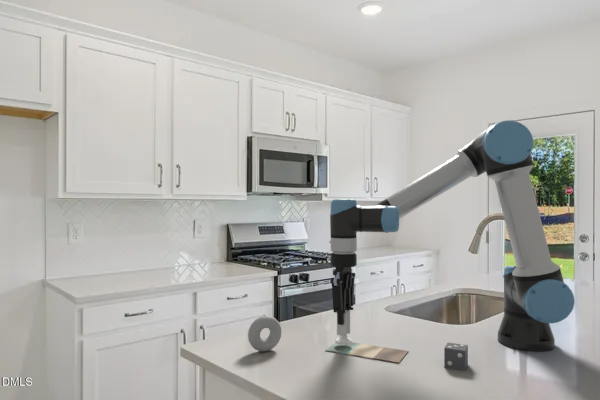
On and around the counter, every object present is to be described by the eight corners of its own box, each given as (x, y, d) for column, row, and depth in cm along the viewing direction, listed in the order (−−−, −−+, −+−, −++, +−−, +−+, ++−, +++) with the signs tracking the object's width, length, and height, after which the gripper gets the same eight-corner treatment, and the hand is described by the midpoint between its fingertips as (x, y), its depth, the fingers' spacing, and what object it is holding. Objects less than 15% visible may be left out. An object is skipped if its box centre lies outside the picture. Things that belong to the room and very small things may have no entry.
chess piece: (351, 345, 125) (351, 310, 125) (334, 344, 126) (334, 309, 126) (352, 340, 130) (352, 306, 130) (336, 339, 131) (336, 305, 131)
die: (467, 364, 115) (467, 344, 115) (465, 371, 110) (465, 350, 110) (447, 361, 117) (447, 342, 117) (444, 367, 112) (444, 347, 112)
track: (408, 352, 124) (408, 350, 124) (398, 363, 115) (398, 362, 115) (338, 341, 134) (338, 340, 134) (325, 351, 125) (325, 349, 125)
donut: (250, 356, 121) (250, 319, 121) (246, 352, 124) (246, 316, 124) (283, 350, 126) (283, 315, 126) (278, 346, 129) (278, 312, 129)
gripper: (341, 249, 136) (341, 325, 136) (320, 254, 123) (320, 339, 123) (364, 250, 133) (364, 329, 133) (345, 255, 120) (346, 343, 119)
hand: (343, 333), depth 128 cm, fingers closed on chess piece, 2 cm apart
